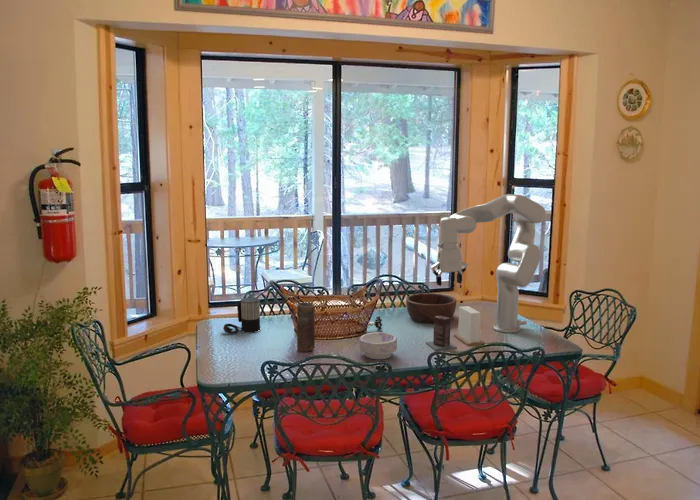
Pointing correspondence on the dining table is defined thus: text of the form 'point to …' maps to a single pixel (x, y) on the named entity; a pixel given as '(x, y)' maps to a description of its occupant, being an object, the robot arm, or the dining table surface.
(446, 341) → the box
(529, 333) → the dining table surface
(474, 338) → the mounted unit
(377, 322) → the valve
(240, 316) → the milk frother
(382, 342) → the white bowl
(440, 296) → the wooden bowl
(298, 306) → the candle
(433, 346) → the slate mat
